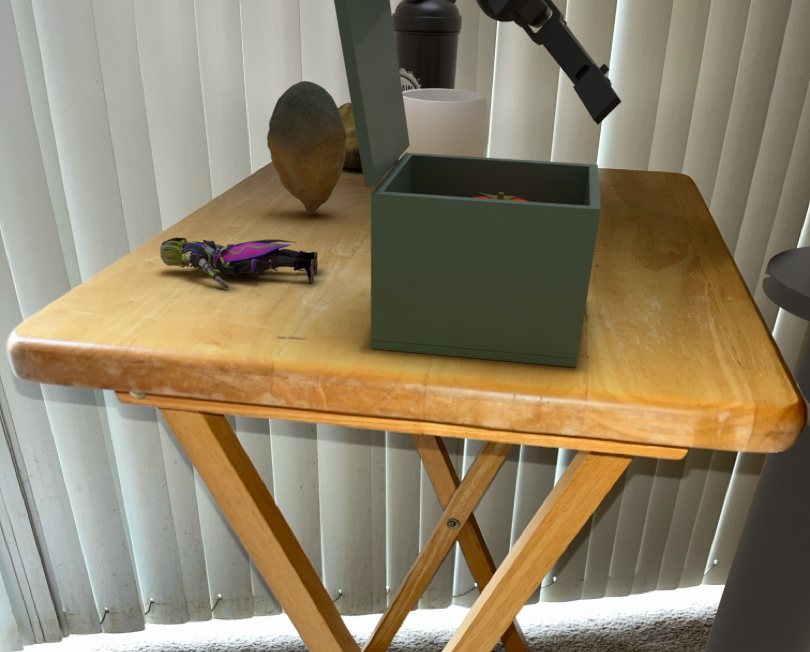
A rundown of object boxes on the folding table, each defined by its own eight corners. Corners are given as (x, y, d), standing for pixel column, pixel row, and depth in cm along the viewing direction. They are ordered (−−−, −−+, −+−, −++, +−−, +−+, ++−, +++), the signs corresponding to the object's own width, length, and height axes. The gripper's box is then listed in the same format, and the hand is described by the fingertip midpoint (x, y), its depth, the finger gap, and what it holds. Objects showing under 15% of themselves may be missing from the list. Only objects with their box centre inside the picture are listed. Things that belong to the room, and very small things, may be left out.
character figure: (320, 266, 91) (173, 254, 91) (321, 231, 89) (170, 219, 89) (309, 296, 84) (149, 283, 84) (309, 258, 81) (144, 245, 81)
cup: (498, 241, 99) (511, 99, 90) (423, 254, 94) (429, 105, 86) (448, 219, 106) (454, 85, 98) (375, 230, 102) (376, 90, 93)
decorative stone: (350, 210, 109) (349, 79, 100) (343, 223, 104) (340, 86, 95) (277, 206, 109) (269, 75, 100) (266, 219, 104) (256, 82, 96)
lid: (375, -103, 67) (365, -101, 67) (328, -113, 55) (314, -110, 55) (409, 145, 77) (400, 147, 77) (376, 185, 65) (365, 187, 65)
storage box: (577, 303, 83) (597, 164, 75) (576, 367, 70) (600, 209, 63) (402, 288, 85) (405, 152, 78) (370, 348, 73) (370, 193, 65)
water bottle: (377, 158, 134) (378, -14, 121) (428, 151, 139) (434, -15, 126) (415, 170, 128) (421, -10, 114) (467, 163, 133) (478, -11, 119)
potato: (318, 171, 126) (316, 112, 121) (335, 153, 136) (334, 98, 132) (373, 174, 125) (373, 115, 120) (386, 156, 135) (386, 101, 131)
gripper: (550, 78, 94) (610, 178, 82) (388, -95, 79) (430, -5, 66) (603, 21, 91) (674, 117, 78) (443, -173, 75) (499, -93, 62)
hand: (562, 61), depth 72 cm, fingers open, 13 cm apart
